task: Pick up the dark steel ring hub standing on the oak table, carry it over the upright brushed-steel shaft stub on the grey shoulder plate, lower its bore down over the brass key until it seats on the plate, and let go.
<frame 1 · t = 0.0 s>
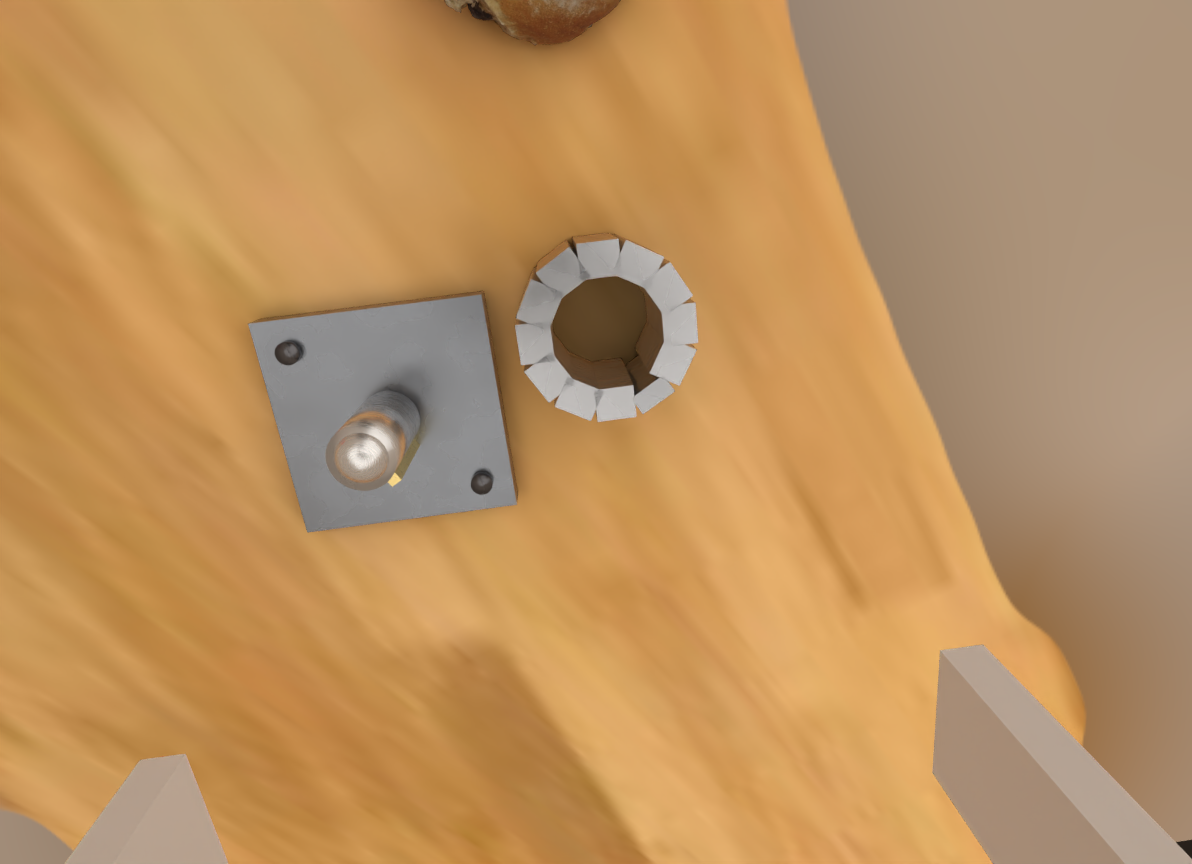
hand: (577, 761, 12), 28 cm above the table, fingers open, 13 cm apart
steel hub: (598, 313, 37), on the table
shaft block: (395, 411, 39), on the table
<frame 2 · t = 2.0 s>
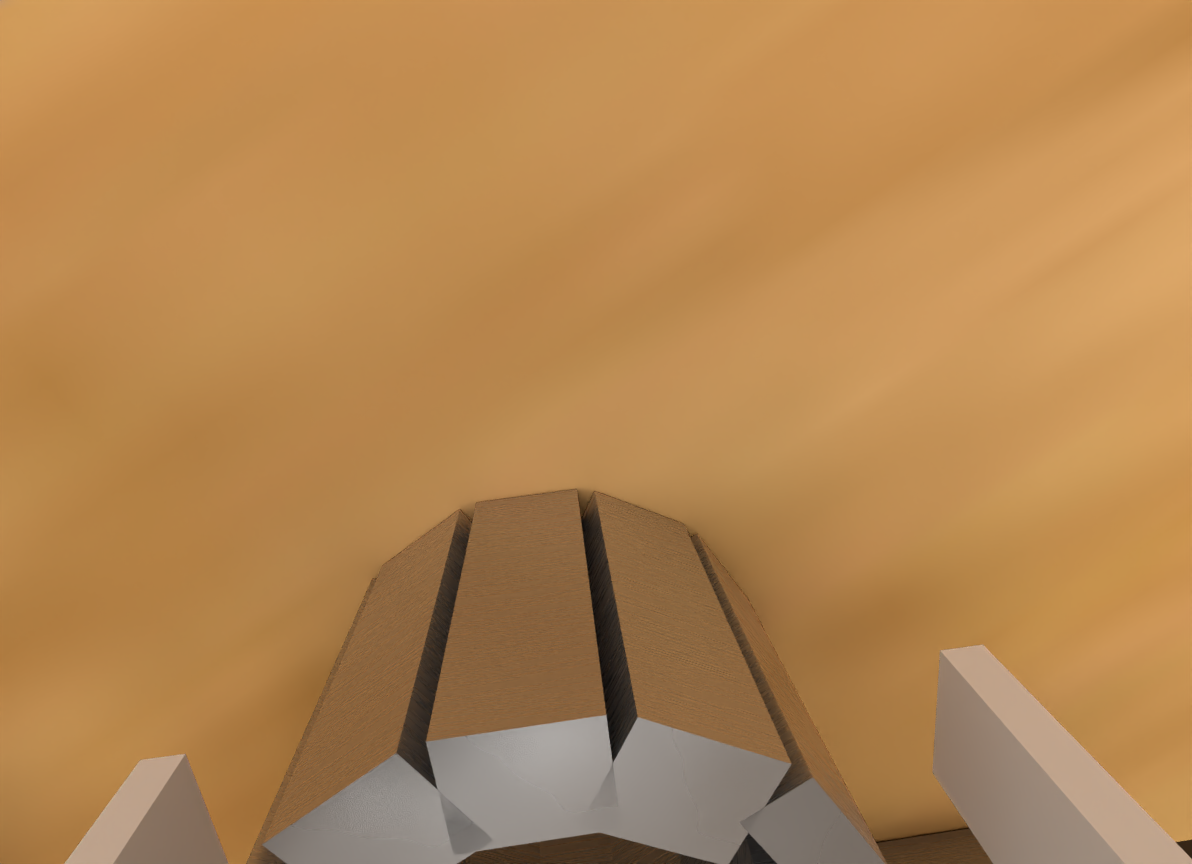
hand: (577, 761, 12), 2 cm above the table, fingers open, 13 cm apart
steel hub: (556, 679, 14), on the table
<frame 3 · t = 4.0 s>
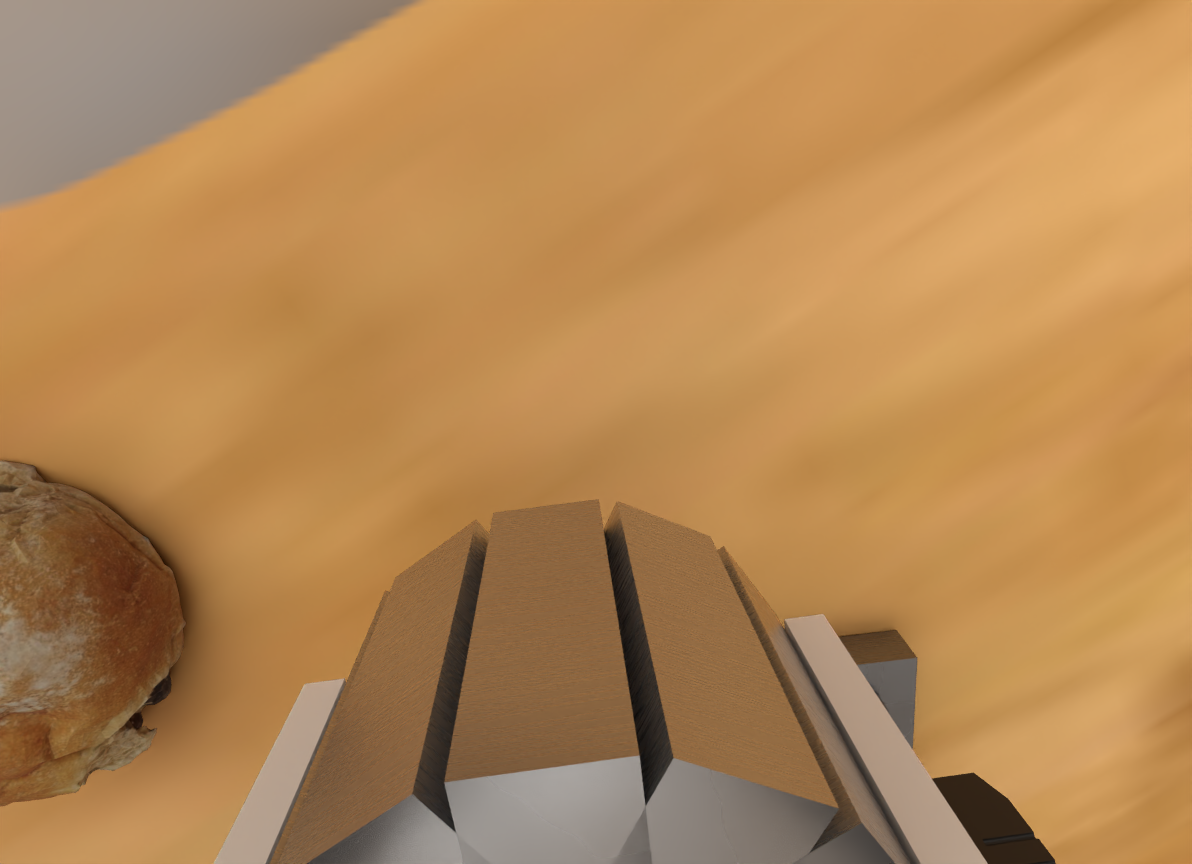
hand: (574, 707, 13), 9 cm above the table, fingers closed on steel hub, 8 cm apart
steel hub: (574, 696, 14), point 9 cm above the table, touching gripper
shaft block: (732, 784, 26), on the table
bread roll: (53, 603, 23), on the table
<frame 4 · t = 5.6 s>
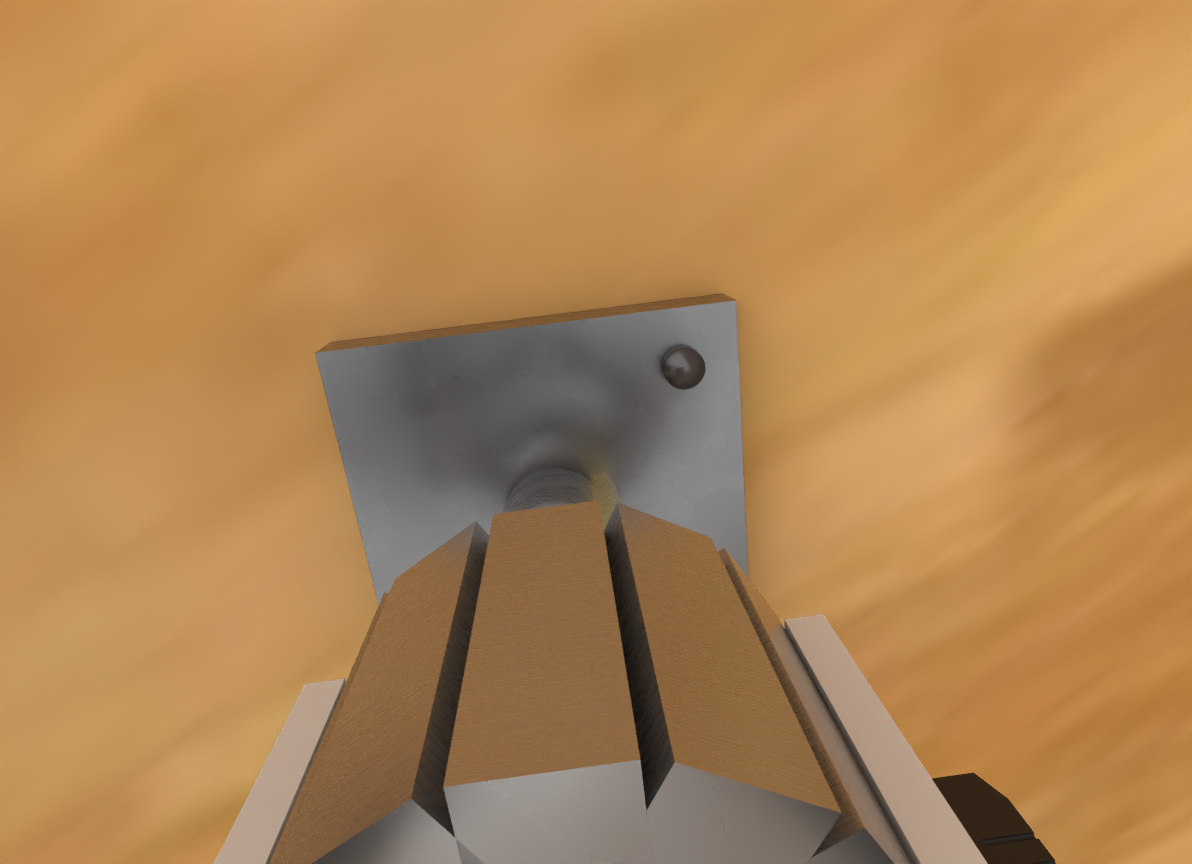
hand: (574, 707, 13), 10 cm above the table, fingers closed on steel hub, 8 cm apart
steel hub: (574, 698, 14), point 10 cm above the table, touching gripper
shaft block: (554, 496, 23), on the table
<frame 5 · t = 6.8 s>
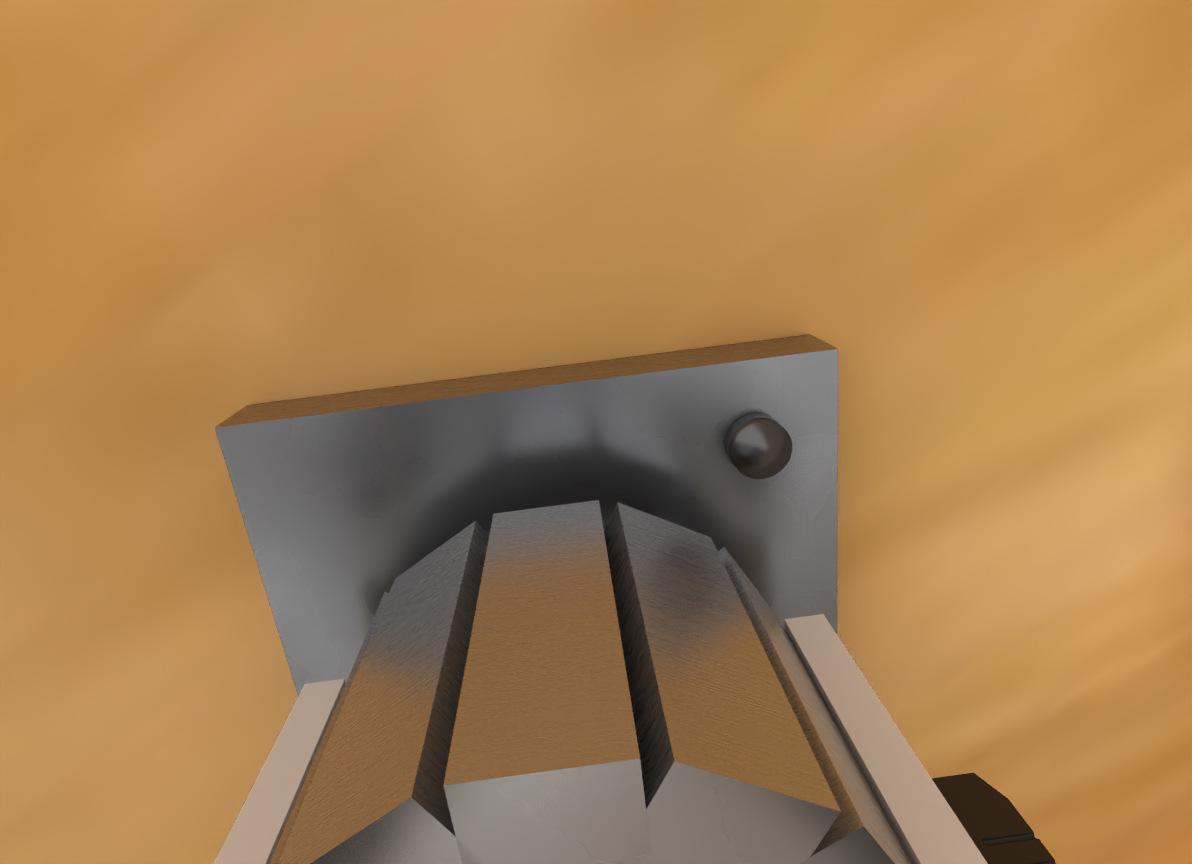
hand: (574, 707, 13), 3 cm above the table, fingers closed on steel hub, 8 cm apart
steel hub: (574, 697, 14), point 3 cm above the table, touching gripper
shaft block: (567, 610, 16), on the table
when the fingers open (3 cm above the table, at t = 7.7 s): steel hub stays where it is, resting on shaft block.
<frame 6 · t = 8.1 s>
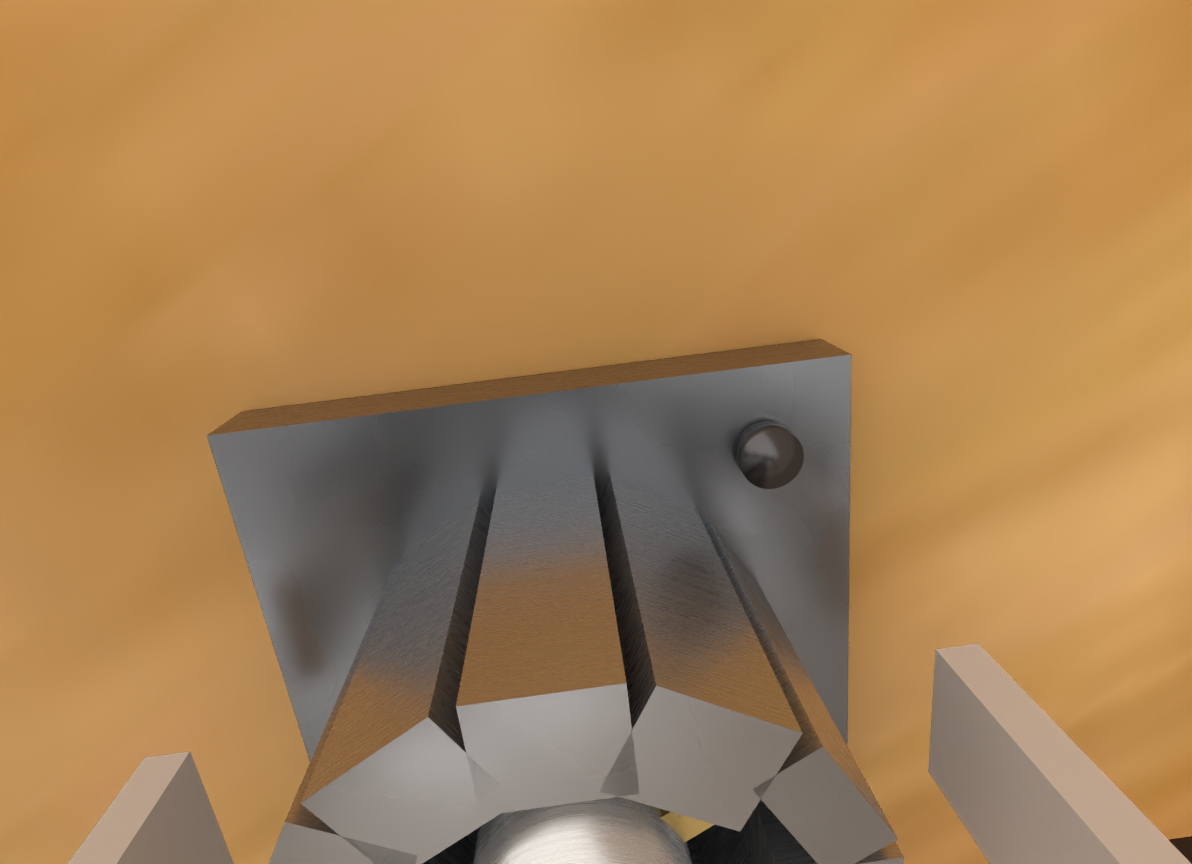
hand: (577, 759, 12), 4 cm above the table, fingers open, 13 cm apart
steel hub: (571, 662, 15), point 1 cm above the table, touching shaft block
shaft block: (570, 622, 16), on the table
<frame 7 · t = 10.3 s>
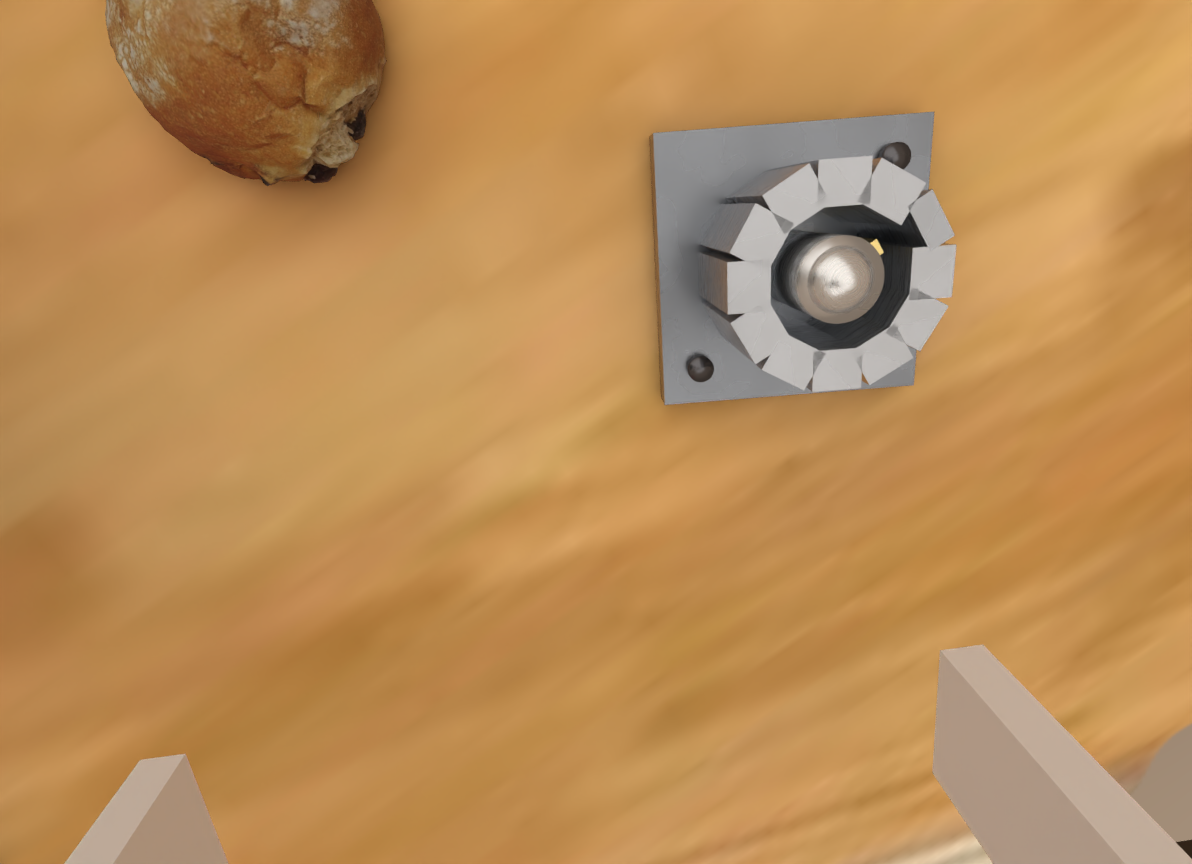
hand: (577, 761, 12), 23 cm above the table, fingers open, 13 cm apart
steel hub: (791, 266, 31), point 1 cm above the table, touching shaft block
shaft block: (781, 264, 32), on the table
bread roll: (278, 60, 29), on the table
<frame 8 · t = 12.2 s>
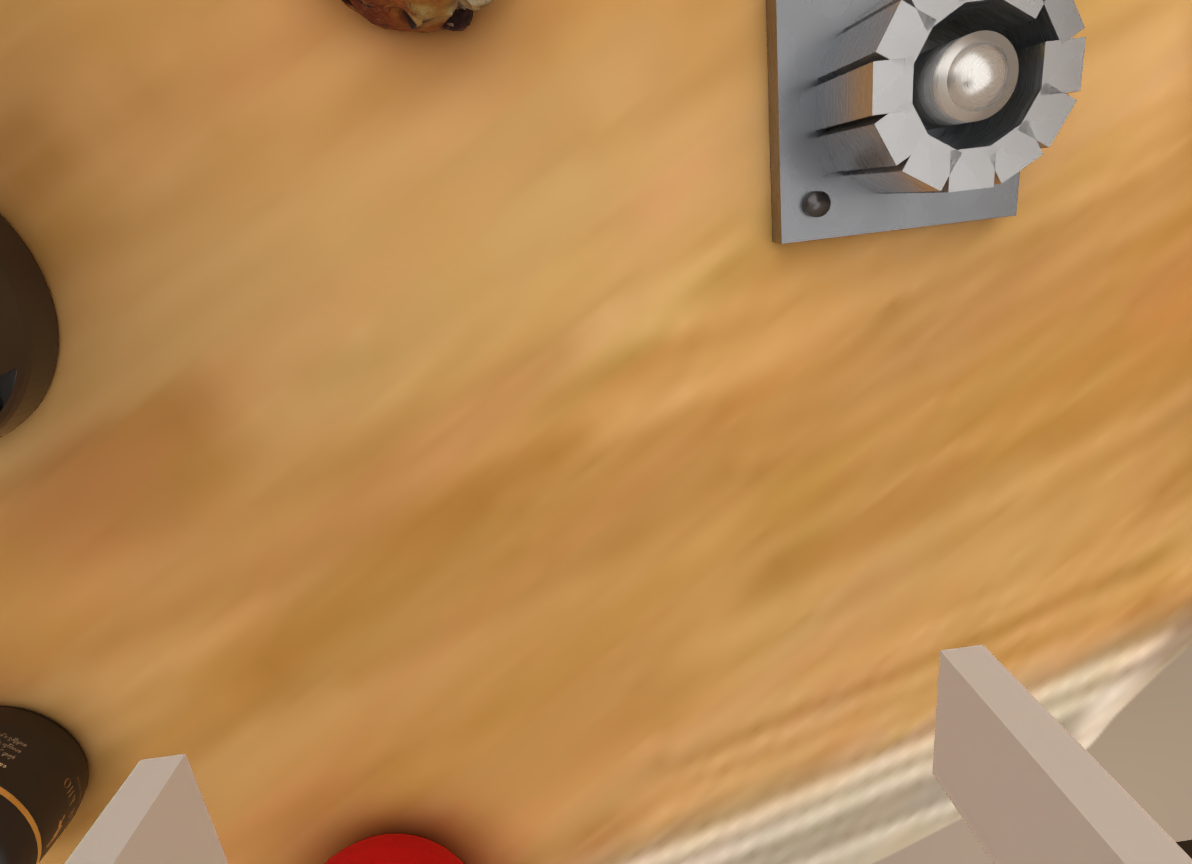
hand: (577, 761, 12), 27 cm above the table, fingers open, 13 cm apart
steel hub: (903, 98, 32), point 1 cm above the table, touching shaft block
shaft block: (888, 102, 34), on the table
jar: (18, 758, 43), on the table
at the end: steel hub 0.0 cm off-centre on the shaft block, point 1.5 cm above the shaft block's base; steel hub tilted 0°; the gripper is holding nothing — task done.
